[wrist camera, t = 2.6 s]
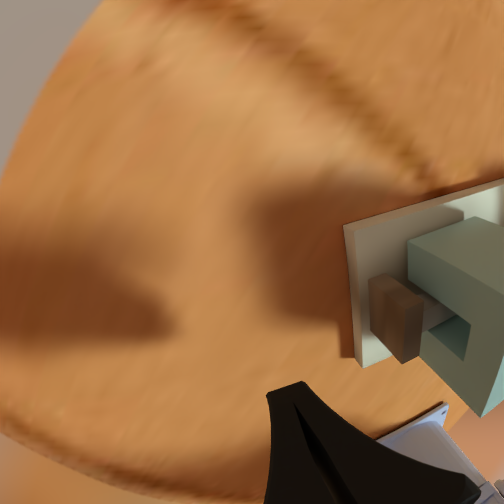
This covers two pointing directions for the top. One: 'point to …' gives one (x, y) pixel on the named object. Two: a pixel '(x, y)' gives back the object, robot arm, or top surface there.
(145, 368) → the top surface
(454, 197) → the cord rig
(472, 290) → the sleeve
